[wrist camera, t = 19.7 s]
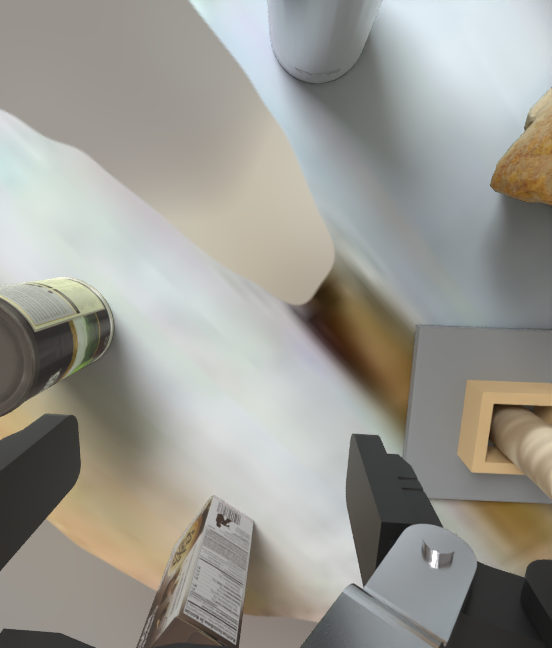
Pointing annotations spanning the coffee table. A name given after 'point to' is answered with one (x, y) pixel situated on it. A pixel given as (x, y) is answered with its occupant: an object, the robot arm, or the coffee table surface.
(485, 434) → the collar board
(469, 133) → the coffee table surface
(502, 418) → the wooden peg
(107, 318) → the coffee can
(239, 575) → the coffee box
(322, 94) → the coffee table surface
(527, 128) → the rough brown rock
